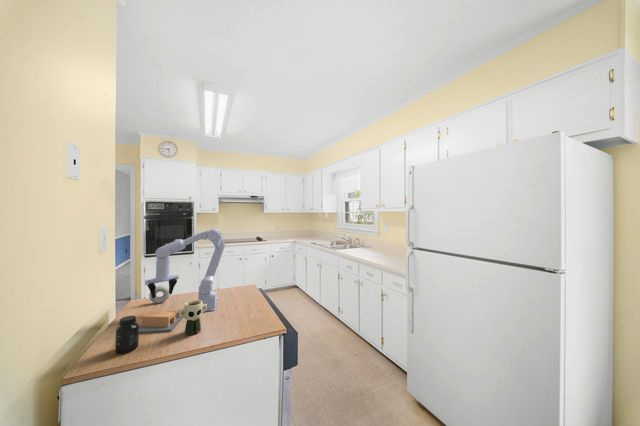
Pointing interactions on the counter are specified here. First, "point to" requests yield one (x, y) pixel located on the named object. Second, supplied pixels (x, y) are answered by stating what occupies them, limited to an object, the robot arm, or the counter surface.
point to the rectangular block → (158, 319)
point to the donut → (164, 297)
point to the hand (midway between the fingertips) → (162, 295)
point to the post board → (159, 329)
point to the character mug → (193, 315)
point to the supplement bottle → (127, 335)
